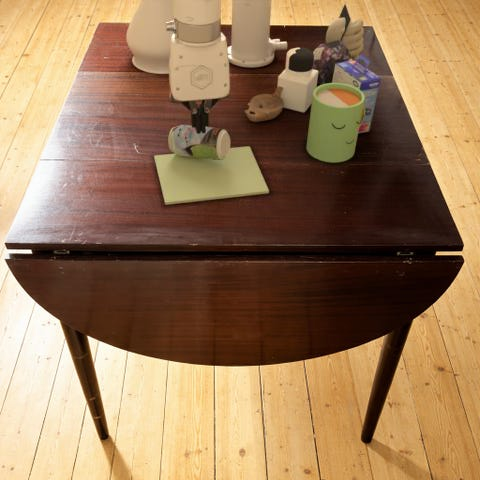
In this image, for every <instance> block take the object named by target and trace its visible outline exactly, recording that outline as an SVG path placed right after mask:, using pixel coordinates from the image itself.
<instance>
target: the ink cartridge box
mask: <svg viewBox="0 0 480 480" xmlns="http://www.w3.org/2000/svg"><path fill="white" fill-rule="evenodd" d="M360 61H363V62H364V64H365V66H364V65H362V64H361V63H360ZM371 63H372V61H371V60H370V59H368V58H367V57H365V56H364V55H363V54H359V58H358V59H357V60H356V61H355V60H351V61H345V62H341V63H336V64H335V69H334V75H333V81H332V83H342V84H347V85H351V86H354V87H356V88H358V89H359V90H361V91H362V92H363V94H364V96H365V99H364V105H365V116H364V119H363V122H362V124H361V126H360V127H359V131H358V135H359V134H364V133H368V132H369V133H370V130H371V125H372V120H373V117H374V111H375V107H376V102H377V98H378V93H379V89H380V84H381V80H382V78H381V77H380V76H379V75H377V74H376V73H374V72H373V71H371V69H368V68H369V66H370V64H371ZM361 116H362V115H361Z"/></svg>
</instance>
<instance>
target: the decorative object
mask: <svg viewBox="0 0 480 480" xmlns="http://www.w3.org/2000/svg"><path fill="white" fill-rule="evenodd" d="M364 23H365V21H364V20H363V19H362V18H357V19H355V21H354V22H353V20H352V19H351V16H350V13H349V11H348V7H347V5H346V4H344V5H343V7H342V10H341V12H340V14H339V16H338V18H336V19H335V20H333V21H332V22H331V24H330V25H328V28H327V31H326V34H325V43H328V42H332V41H336V40H340V41H342V42H343V43H344V44H345V46H346V47H347V48H348V50H349V53H350V55H351V57H352V60H355V61H356V60H357V59H358V58H359V56H360V54H361V53H362V51H363V50H364V47H365V46H364V38H363V35H364V33H365V29H364Z"/></svg>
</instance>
